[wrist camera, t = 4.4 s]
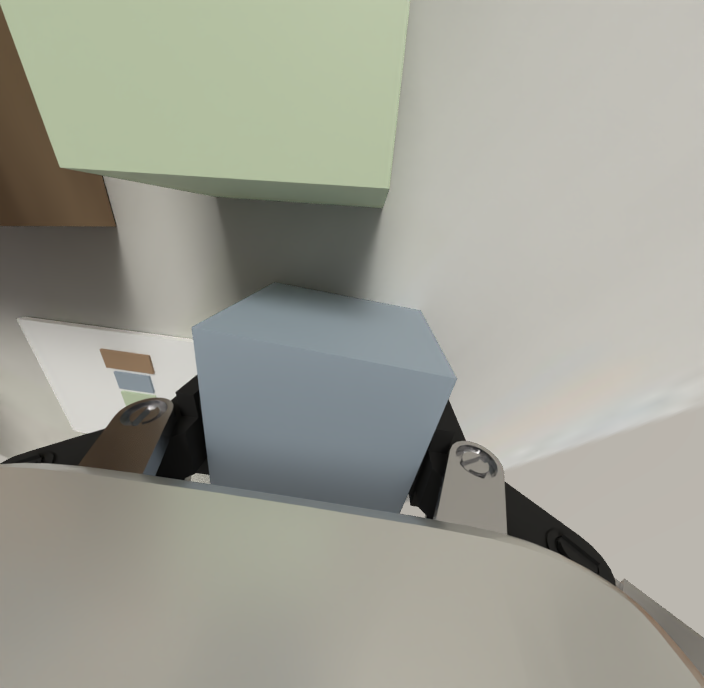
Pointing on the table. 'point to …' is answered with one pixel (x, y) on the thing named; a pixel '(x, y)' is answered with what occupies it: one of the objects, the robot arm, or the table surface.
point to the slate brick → (319, 396)
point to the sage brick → (221, 92)
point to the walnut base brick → (38, 160)
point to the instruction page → (106, 367)
